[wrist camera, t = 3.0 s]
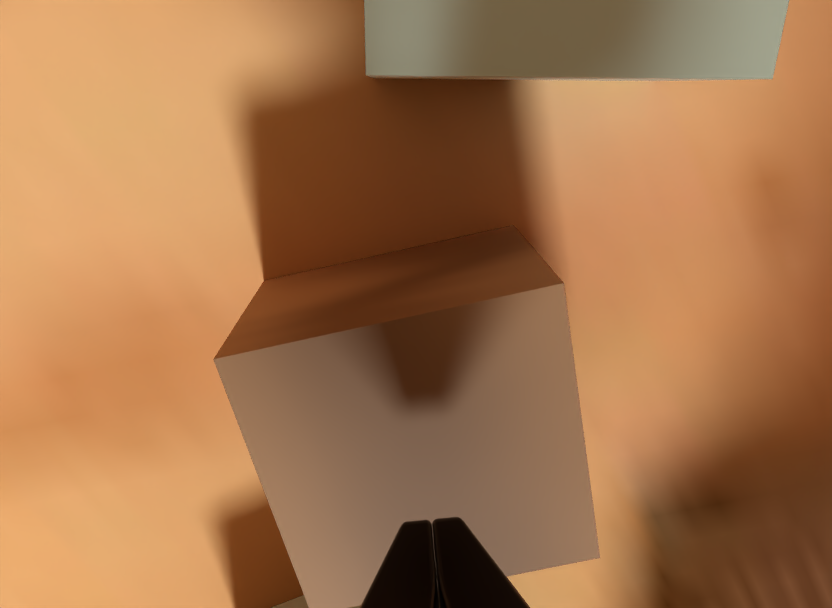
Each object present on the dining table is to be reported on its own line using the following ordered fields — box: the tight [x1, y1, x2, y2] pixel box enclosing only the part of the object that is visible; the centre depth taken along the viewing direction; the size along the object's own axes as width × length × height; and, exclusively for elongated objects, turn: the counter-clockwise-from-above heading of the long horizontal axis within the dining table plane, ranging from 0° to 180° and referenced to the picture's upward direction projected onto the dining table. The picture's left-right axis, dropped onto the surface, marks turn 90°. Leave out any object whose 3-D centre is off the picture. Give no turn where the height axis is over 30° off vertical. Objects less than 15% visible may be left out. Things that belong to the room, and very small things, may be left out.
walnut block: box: [213, 225, 600, 608], centre depth 12 cm, size 6×6×4 cm
